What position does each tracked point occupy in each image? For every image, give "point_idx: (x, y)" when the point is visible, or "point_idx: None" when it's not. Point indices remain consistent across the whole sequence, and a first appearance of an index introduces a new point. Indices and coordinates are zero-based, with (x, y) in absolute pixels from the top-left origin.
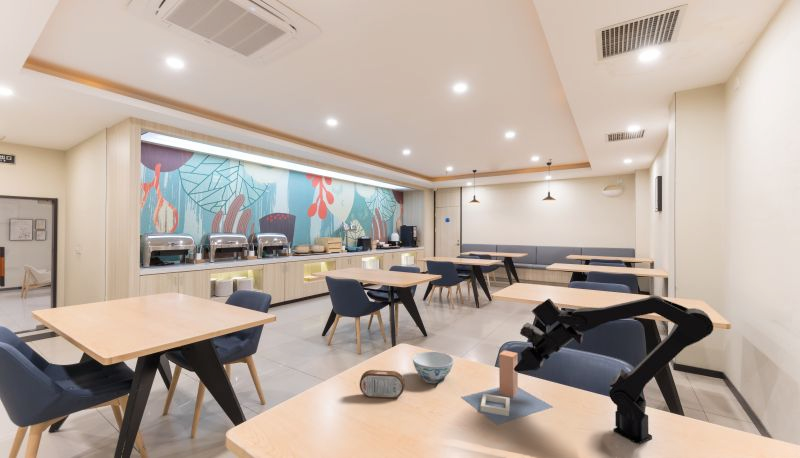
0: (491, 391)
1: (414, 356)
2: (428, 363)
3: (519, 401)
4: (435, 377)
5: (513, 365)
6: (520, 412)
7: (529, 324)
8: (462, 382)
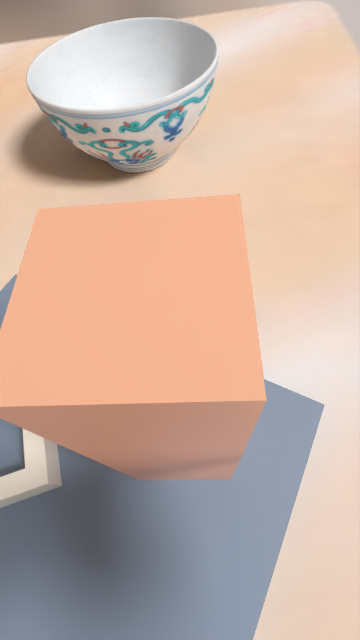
0: None
1: (107, 26)
2: (176, 82)
3: (111, 537)
4: (76, 146)
5: (72, 441)
6: None
7: None
8: None
